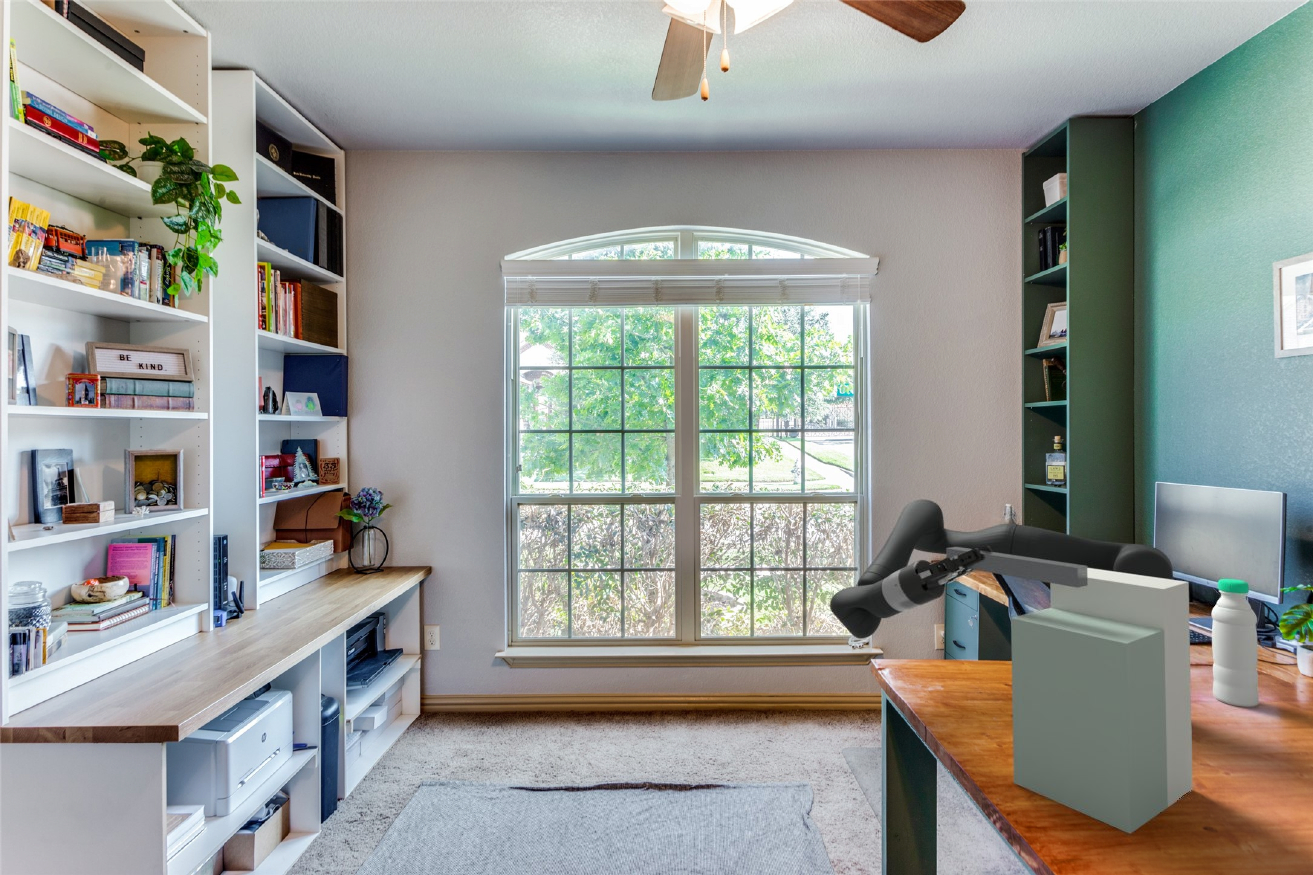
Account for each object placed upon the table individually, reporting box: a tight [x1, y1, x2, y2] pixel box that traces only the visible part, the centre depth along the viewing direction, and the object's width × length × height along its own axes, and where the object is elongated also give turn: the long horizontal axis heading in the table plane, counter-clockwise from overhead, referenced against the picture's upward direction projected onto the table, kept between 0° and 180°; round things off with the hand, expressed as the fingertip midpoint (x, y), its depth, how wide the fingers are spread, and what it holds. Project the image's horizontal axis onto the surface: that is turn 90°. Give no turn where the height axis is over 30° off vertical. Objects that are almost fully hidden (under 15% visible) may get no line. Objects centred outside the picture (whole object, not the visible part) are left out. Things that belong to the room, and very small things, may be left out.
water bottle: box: [1211, 578, 1260, 708], centre depth 134 cm, size 7×7×25 cm
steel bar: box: [945, 547, 1088, 588], centre depth 108 cm, size 22×3×3 cm, turn 32°
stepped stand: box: [1010, 568, 1194, 835], centre depth 101 cm, size 16×21×32 cm
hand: (985, 552), depth 112 cm, fingers closed on steel bar, 3 cm apart
